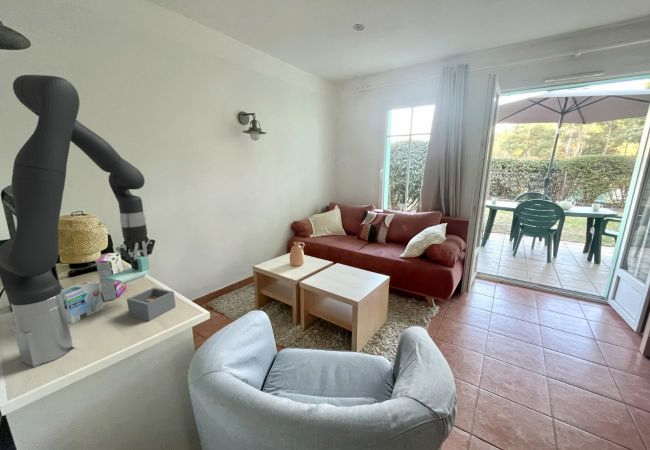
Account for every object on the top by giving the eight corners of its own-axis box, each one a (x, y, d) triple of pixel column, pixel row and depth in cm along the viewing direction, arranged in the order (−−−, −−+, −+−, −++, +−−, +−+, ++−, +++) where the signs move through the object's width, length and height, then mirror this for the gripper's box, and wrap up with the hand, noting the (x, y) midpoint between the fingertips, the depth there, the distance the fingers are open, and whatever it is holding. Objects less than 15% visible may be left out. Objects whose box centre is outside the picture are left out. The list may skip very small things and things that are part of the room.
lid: (122, 285, 91) (119, 267, 90) (105, 281, 95) (102, 263, 93) (153, 273, 101) (150, 257, 100) (136, 270, 105) (133, 254, 103)
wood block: (155, 310, 95) (154, 301, 94) (146, 309, 95) (145, 300, 95) (162, 305, 99) (161, 296, 98) (153, 304, 99) (152, 296, 98)
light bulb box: (72, 325, 87) (66, 295, 84) (56, 323, 88) (50, 293, 86) (105, 309, 97) (100, 282, 95) (90, 307, 98) (85, 280, 96)
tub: (149, 323, 88) (147, 304, 87) (129, 317, 92) (126, 298, 90) (175, 309, 97) (173, 291, 96) (156, 304, 101) (154, 287, 100)
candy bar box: (112, 289, 113) (106, 253, 109) (126, 287, 115) (121, 252, 111) (102, 301, 103) (95, 261, 99) (117, 299, 104) (111, 260, 101)
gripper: (120, 228, 90) (128, 276, 94) (158, 221, 103) (163, 263, 106) (106, 227, 93) (114, 273, 96) (145, 220, 105) (150, 260, 109)
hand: (140, 267), depth 101 cm, fingers closed on lid, 2 cm apart
